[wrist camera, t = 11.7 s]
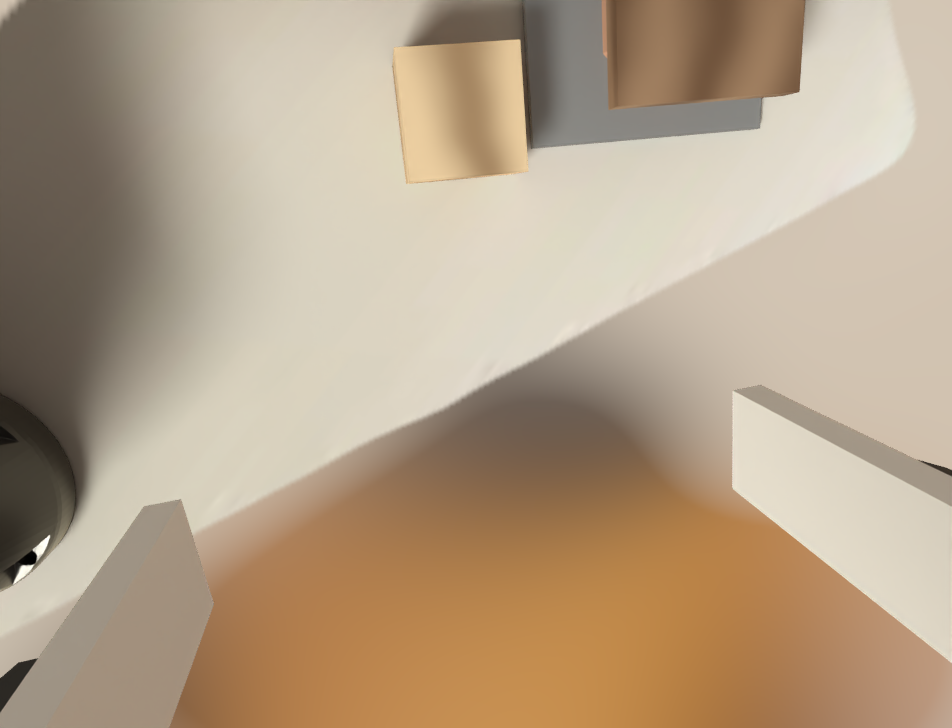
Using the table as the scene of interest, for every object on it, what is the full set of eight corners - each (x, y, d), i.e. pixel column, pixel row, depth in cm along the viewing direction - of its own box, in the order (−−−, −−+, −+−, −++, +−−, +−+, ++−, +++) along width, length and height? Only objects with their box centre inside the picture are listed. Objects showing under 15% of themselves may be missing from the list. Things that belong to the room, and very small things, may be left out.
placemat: (531, 148, 39) (533, 148, 39) (518, -61, 36) (521, -65, 35) (754, 129, 41) (759, 128, 41) (763, -72, 38) (769, -76, 37)
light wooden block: (406, 183, 39) (409, 182, 34) (392, 66, 37) (394, 47, 32) (510, 174, 39) (528, 171, 35) (502, 59, 37) (520, 39, 33)
